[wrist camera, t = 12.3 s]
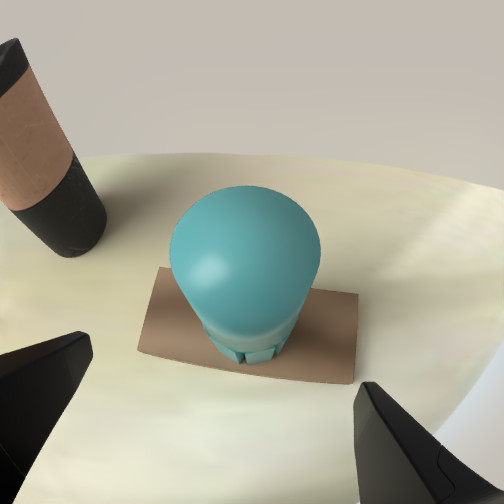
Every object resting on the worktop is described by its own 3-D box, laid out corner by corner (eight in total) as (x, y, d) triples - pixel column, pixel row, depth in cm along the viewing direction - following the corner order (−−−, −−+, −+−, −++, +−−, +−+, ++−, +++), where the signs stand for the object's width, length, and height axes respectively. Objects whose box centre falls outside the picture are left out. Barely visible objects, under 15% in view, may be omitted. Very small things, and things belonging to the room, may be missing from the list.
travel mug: (50, 211, 29) (-42, 74, 11) (107, 188, 30) (31, 25, 12) (48, 270, 25) (-82, 128, 8) (112, 246, 26) (-3, 62, 9)
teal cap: (220, 371, 20) (180, 334, 10) (205, 298, 23) (164, 201, 12) (297, 353, 21) (341, 297, 10) (277, 283, 23) (294, 175, 13)
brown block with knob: (348, 384, 21) (368, 379, 17) (142, 352, 22) (120, 340, 18) (353, 299, 24) (371, 277, 20) (163, 272, 25) (147, 247, 21)
